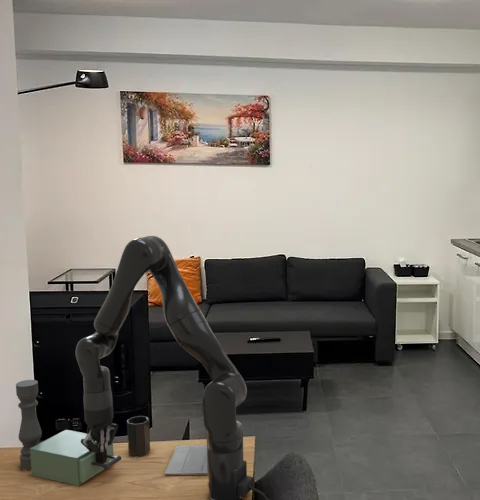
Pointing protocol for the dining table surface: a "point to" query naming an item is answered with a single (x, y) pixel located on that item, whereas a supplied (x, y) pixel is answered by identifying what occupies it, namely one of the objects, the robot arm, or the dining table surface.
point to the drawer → (95, 464)
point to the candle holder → (28, 420)
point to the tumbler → (138, 436)
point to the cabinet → (59, 457)
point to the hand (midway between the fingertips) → (101, 462)
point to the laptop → (189, 460)
